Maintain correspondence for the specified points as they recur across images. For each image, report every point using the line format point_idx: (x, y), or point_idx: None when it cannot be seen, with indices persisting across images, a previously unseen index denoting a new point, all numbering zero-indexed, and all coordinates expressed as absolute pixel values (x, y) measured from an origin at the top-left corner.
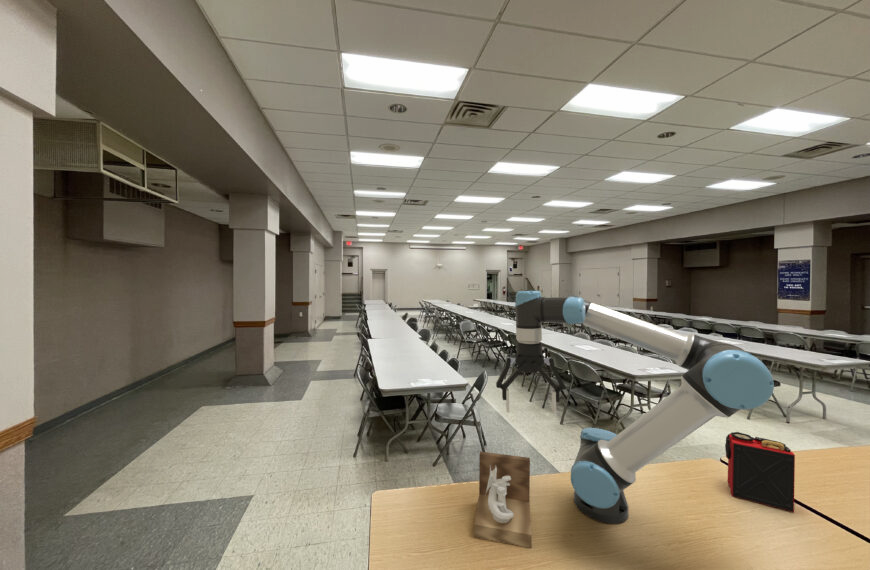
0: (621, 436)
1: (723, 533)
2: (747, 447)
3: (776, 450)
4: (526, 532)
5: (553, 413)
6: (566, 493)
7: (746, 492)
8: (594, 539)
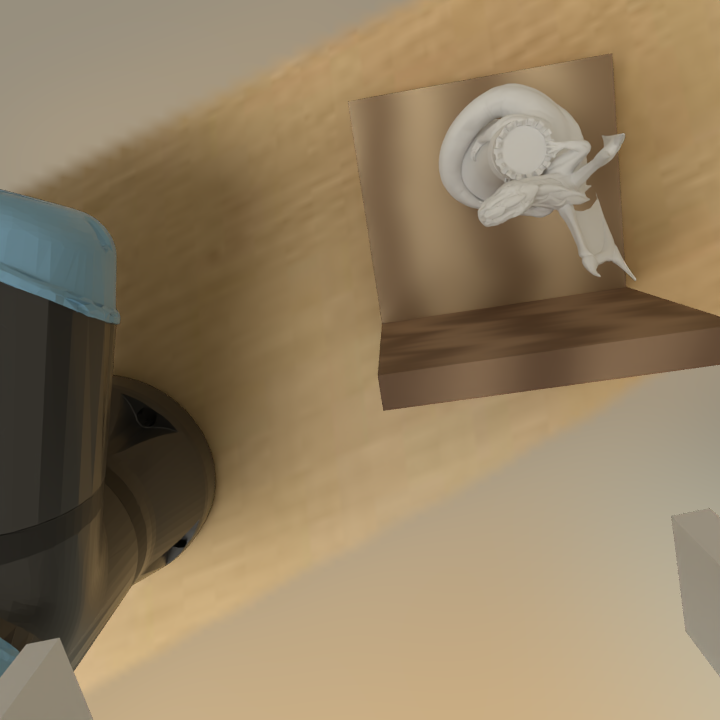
0: None
1: None
2: None
3: None
4: (371, 105)
5: (61, 649)
6: (247, 506)
7: None
8: (129, 265)
